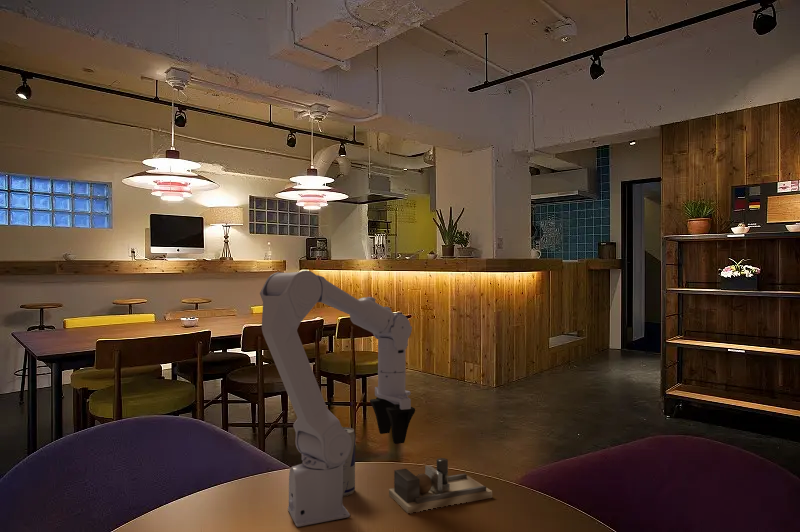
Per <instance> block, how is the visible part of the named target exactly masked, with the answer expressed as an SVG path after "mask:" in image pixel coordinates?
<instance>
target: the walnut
mask: <svg viewBox="0 0 800 532" xmlns="http://www.w3.org/2000/svg"><path fill="white" fill-rule="evenodd" d="M415 476H416V477H418V478H419V493H420V494H426V493H428V492H429V491H430V489H431V487H432V481H431V479H430V477H429V476H428V475H426V474H425V473H418V474H416V475H415Z"/></svg>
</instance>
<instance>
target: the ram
mask: <svg viewBox="0 0 800 532" xmlns="http://www.w3.org/2000/svg"><path fill="white" fill-rule="evenodd" d="M448 463H449V461H448V459H447V458H444V457H440V458H437V459H436V468H434V466H432V465H430V464H429V465H424V466H425V467H424V469H425V471H424V474H426V475H428V476H429V477H430V479H431V481H432V487H431V490H432V491H433V492H434V493H436V494H441V493H442V492H443V491H449V490H450V484H449V483H448V476H449V470H448V469H449V464H448Z"/></svg>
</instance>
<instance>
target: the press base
mask: <svg viewBox="0 0 800 532" xmlns="http://www.w3.org/2000/svg"><path fill="white" fill-rule="evenodd" d="M393 473H394V478H393V480H394V482H393V484H394V485H393V486H394V487H393V488H389V489H388V496H389V497H390V498H391V499H392V500H393V499H394V500H395V501H396V502H397V503H396V502H395V501H394V500H393V501H394V502H395V503H396V504H397V505H398V506H399V505H400V506H401V507H400V508H401V509H402V510H403V511H405V513H406V514H408V513H410V514H414V513H413V512H416V513H420V511H421V512H424V511H423V510H426V511H429V510H428V509H431V510H434V509H433V508H436V509H438V508H437V507H441V508H444V507H443V506H446V507H449V506H448V505H451V506H455V505H454V504H457V505H460V503H462V504H466V502H467V503H472V502H476V501H480V500H487V499H491V498H493V490H491V489H490V488H488V487H487V486H486V485H483V484H481V483H480V482H479V481H477V480H475V479H474V478H472V477H471V476H469V475H468V474H467V473H460V474H454V475H448V483H449V484H450V490H449V491H443V492H442V493H441V494H436V493H434V492H433V491H432V490H431V489H430V491H429V492H428V493H426V494H420V493H419V478H418V477H416V476H417V475H415V474H414V473H413V472H412V471H410V470H409V469H408V468H401V469H395V470H394V472H393Z"/></svg>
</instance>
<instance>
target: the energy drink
mask: <svg viewBox="0 0 800 532" xmlns="http://www.w3.org/2000/svg"><path fill="white" fill-rule="evenodd" d="M342 428H343V429H344V430H346V431H347V432H348V433H349V435H350V437H351V440H352V447H351V451H350V454H349V456H348V458H347V459H346V460H345V464H344V465H343V497H348V496H350V495H352V494H353V493H354V492H355V489H356V433H355V429H354V428H352V427H345V426H344V427H343V426H342ZM347 495H348V496H347Z"/></svg>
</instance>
